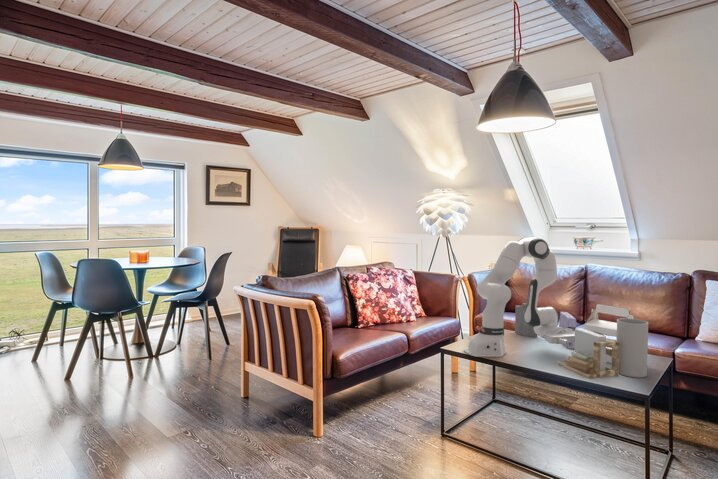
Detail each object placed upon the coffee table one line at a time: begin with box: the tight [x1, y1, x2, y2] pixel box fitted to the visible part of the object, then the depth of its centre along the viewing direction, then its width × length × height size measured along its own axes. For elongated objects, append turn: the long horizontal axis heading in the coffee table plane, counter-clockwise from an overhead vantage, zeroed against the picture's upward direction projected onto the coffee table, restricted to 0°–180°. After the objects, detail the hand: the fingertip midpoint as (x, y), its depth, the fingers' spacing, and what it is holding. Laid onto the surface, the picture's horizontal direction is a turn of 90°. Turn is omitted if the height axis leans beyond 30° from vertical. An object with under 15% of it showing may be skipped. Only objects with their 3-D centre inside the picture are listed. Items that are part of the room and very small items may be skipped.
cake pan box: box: [558, 311, 577, 350], centre depth 257 cm, size 19×5×18 cm, turn 170°
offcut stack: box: [566, 351, 594, 374], centre depth 210 cm, size 6×13×7 cm, turn 12°
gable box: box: [584, 303, 635, 364], centre depth 229 cm, size 22×13×28 cm, turn 32°
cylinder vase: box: [616, 317, 649, 379], centre depth 207 cm, size 12×12×25 cm
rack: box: [558, 340, 619, 379], centre depth 213 cm, size 16×20×16 cm
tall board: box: [574, 327, 607, 371], centre depth 214 cm, size 4×16×18 cm, turn 12°
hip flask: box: [514, 302, 538, 338], centre depth 280 cm, size 16×4×20 cm, turn 32°
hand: (574, 341), depth 224 cm, fingers open, 8 cm apart
